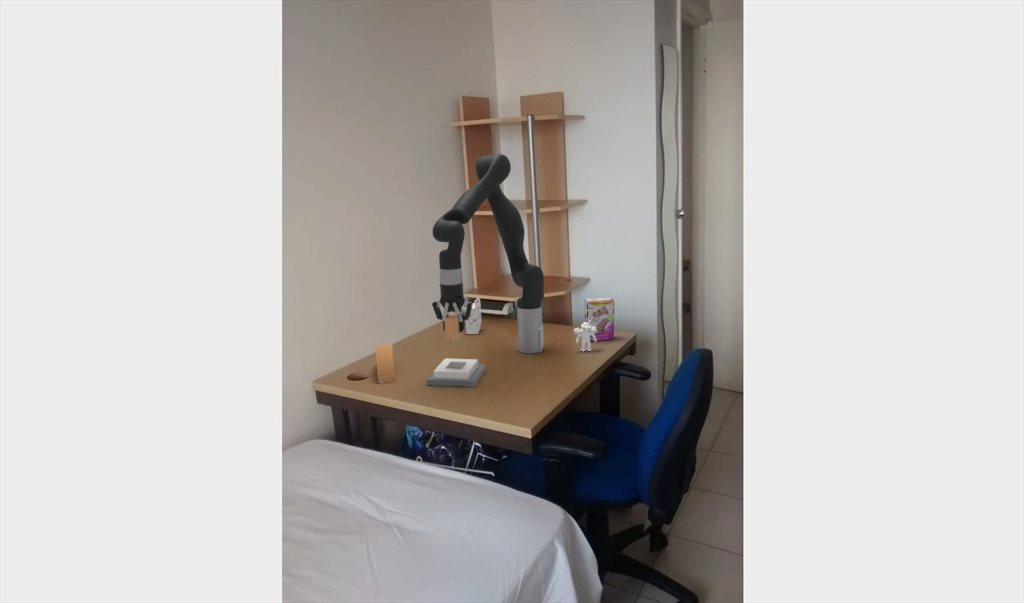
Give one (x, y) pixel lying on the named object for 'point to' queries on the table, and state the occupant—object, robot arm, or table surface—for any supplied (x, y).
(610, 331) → the candy bar box
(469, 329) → the ink cartridge box
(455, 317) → the cardboard parcel
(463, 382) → the socket plate
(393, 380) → the arch
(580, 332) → the blocky character figurine
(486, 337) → the table surface
